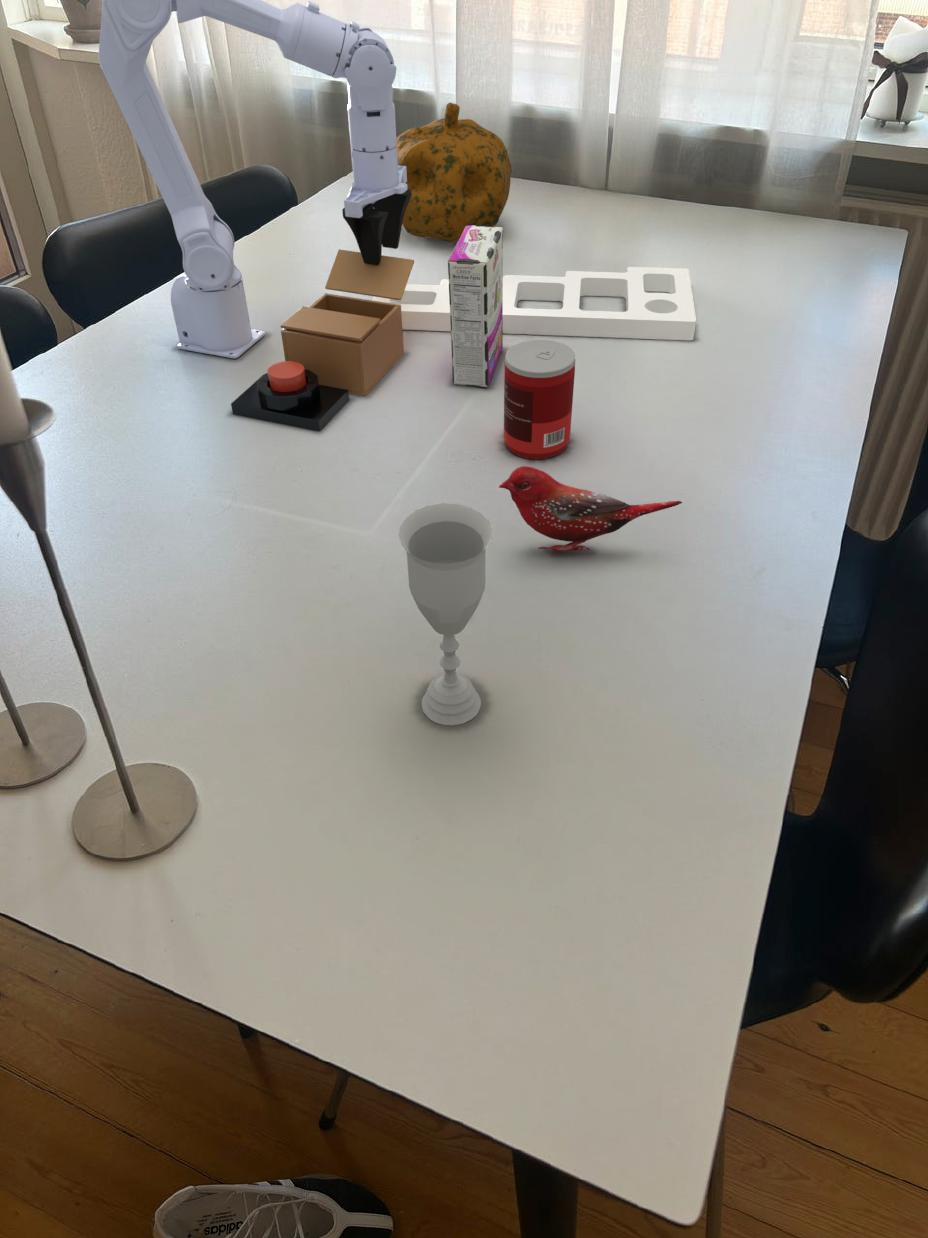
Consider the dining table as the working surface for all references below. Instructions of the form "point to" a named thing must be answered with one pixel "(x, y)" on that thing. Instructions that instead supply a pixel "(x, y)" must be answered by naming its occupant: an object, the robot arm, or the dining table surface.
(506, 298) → the holder
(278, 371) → the button
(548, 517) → the decorative bird figurine
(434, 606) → the chalice
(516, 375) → the canned food
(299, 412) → the block
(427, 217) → the decorative pumpkin
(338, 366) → the carton
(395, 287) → the flap
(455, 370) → the candy bar box
